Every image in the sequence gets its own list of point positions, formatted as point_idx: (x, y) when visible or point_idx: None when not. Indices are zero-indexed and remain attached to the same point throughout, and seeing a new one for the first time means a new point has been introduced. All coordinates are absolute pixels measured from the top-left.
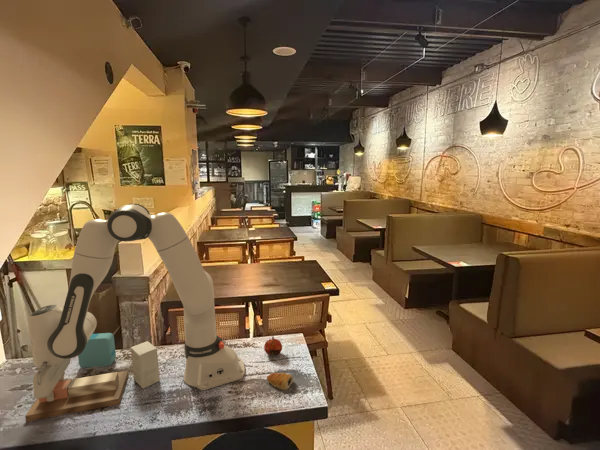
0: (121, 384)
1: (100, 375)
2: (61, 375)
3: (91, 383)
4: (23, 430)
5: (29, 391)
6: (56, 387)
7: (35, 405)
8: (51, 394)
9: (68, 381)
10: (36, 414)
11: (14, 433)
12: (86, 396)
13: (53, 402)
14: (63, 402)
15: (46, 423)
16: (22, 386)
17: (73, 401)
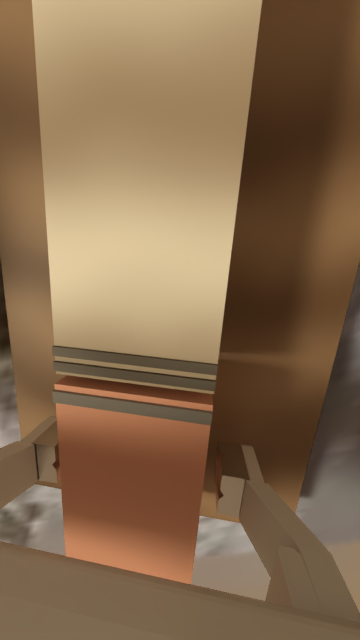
0: None
1: (55, 25)
2: (22, 577)
3: (227, 116)
4: (342, 492)
5: (49, 511)
6: (160, 487)
7: (211, 504)
8: (304, 527)
9: (92, 406)
10: (298, 486)
11: (344, 518)
12: (248, 230)
13: (222, 427)
14: (252, 374)
15: (343, 414)
16: (9, 535)
17: (274, 313)
